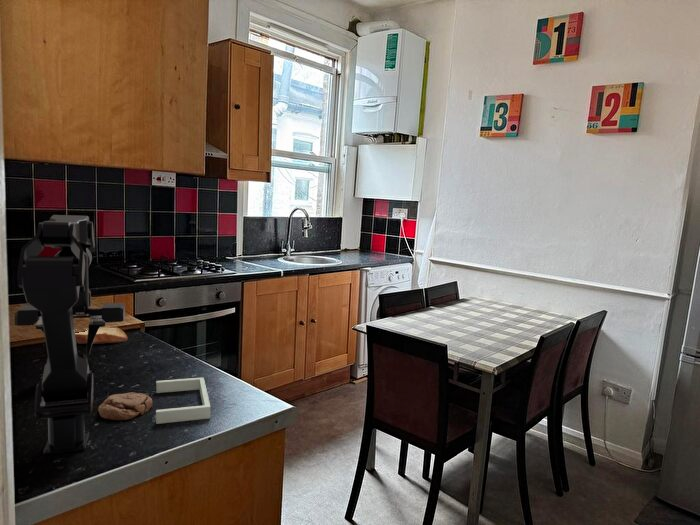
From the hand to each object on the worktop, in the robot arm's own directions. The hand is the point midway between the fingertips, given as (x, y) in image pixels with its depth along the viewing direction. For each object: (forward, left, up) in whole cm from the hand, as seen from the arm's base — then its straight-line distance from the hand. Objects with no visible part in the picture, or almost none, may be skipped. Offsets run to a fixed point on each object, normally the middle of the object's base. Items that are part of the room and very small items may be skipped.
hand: (73, 355), depth 101 cm
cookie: (0, -10, -13) cm, 16 cm away
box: (0, -21, -12) cm, 24 cm away
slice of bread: (+54, +4, -13) cm, 55 cm away
